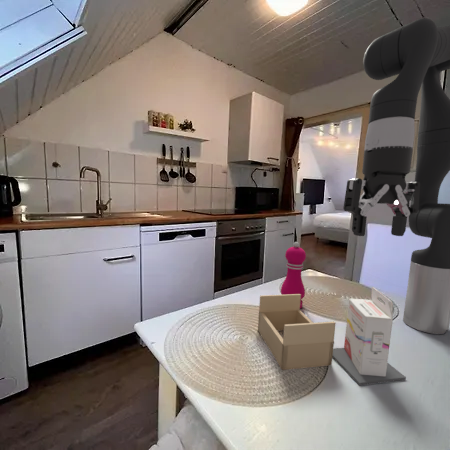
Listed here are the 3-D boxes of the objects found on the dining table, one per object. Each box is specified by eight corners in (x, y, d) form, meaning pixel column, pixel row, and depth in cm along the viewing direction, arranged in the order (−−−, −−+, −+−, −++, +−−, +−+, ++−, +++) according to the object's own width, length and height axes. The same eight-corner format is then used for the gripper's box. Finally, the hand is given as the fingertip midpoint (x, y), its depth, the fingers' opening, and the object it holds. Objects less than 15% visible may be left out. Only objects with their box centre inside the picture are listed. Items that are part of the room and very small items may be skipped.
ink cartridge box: (342, 348, 56) (349, 284, 54) (365, 350, 55) (373, 285, 53) (359, 375, 47) (367, 300, 45) (387, 378, 47) (396, 302, 45)
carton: (297, 327, 65) (299, 293, 64) (331, 365, 50) (335, 322, 49) (257, 330, 62) (260, 295, 61) (282, 370, 48) (285, 326, 47)
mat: (366, 347, 57) (366, 345, 57) (405, 379, 47) (406, 377, 47) (326, 351, 55) (326, 349, 55) (359, 385, 45) (359, 382, 45)
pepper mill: (275, 301, 80) (279, 239, 78) (295, 299, 82) (299, 239, 80) (287, 311, 73) (292, 244, 71) (308, 309, 76) (314, 244, 73)
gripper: (402, 154, 51) (393, 232, 53) (340, 149, 48) (332, 232, 50) (440, 147, 44) (428, 239, 46) (369, 141, 41) (359, 239, 43)
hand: (378, 235), depth 48 cm, fingers open, 8 cm apart
